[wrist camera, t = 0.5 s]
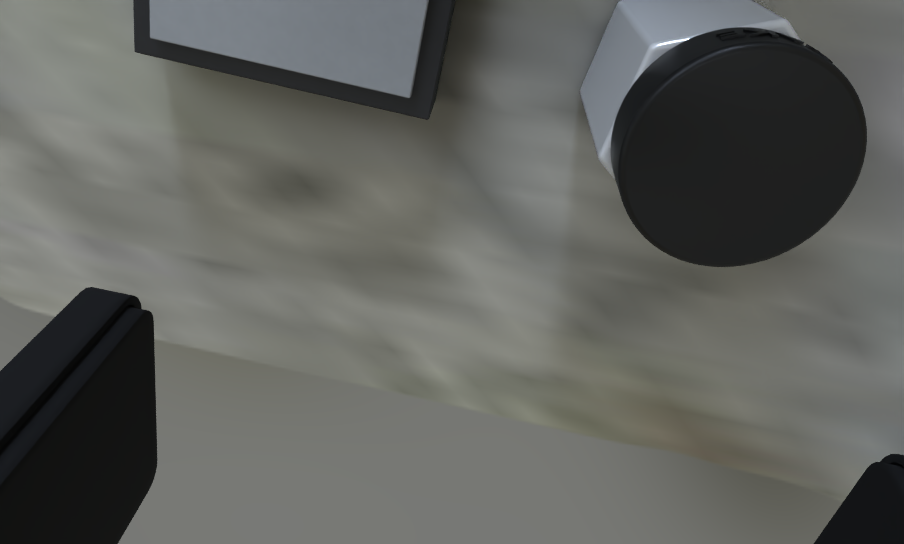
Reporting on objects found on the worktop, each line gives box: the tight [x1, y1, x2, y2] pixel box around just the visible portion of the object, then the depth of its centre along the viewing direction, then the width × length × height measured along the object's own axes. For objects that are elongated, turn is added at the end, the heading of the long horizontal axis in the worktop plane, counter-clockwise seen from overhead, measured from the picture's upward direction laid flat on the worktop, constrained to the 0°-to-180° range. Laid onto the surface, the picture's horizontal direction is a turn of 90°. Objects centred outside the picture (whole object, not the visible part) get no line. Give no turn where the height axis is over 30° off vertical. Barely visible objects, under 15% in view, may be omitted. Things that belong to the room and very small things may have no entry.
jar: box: [580, 0, 867, 267], centre depth 29 cm, size 9×8×12 cm
